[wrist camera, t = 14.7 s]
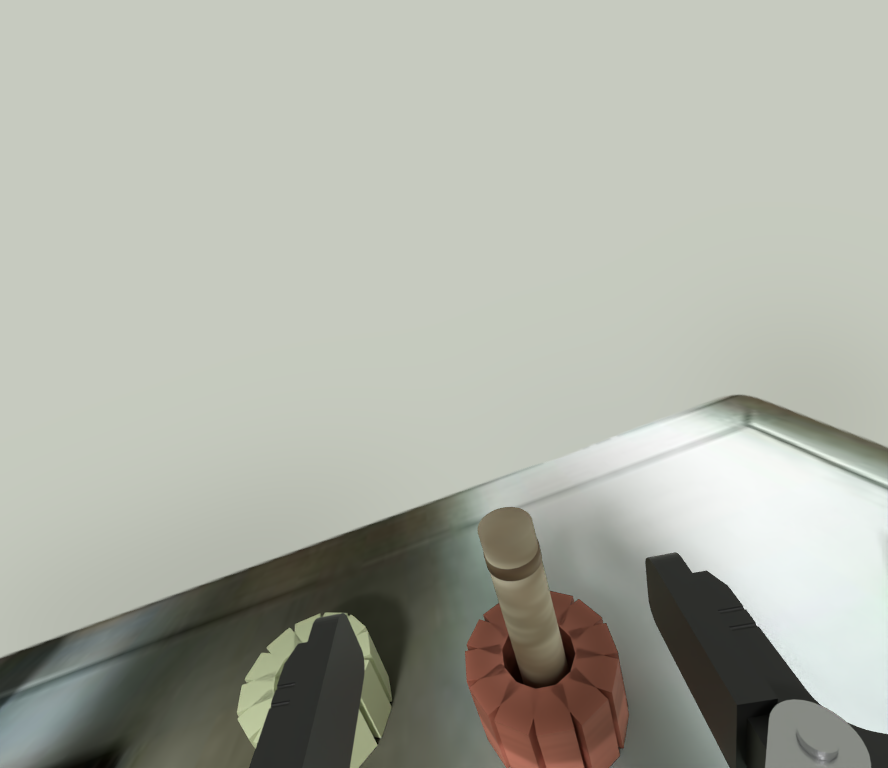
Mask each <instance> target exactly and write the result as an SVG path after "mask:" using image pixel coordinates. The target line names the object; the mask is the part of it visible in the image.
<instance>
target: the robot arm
mask: <svg viewBox="0 0 888 768" xmlns="http://www.w3.org/2000/svg"><path fill="white" fill-rule="evenodd" d="M646 574H647V586H648V597H649V604H650V608H651V612H652V615H653V618H654V620H655V623H656V625H657V627H658V629H659V631H660V633H661V635H662V637H663V639H664V641H665V643H666V645H667V647H668V649H669V650H670V652H671V654H672V656H673V658H674V660H675V662H676V664H677V666H678V668H679V670H680V672H681V674H682V676H683V678H684V680H685V682H686V683H687V685H688V687H689V689H690V691H691V693H692V695H693V697H694V699H695V701H696V703H697V705H698V707H699V709H700V711H701V713H702V715H703V717H704V718H705V720H706V722H707V724H708V726H709V728H710V730H711V732H712V734H713V736H714V738H715V740H716V742H717V744H718V746H719V748H720V750H721V751H722V753H723V755H724V757H725V759H726V761H727V763H728V765H729V767H730V768H888V734H883V733H878V732H873V731H869V730H865V729H862V728H859V727H856V726H854V725H852V724H850V723H847V722H846V721H845V720H843V719H842V718H841V717H839V716H838V715H837V714H835V713H834V712H832V711H830V710H829V709H827V708H825V707H823V706H821V705H820V704H819V703H818V702H817V701H816V700H815V699H814V698H813V697H812V696H811V695H810V694H809V692H808V691H807V690H806V689H805V687H804V686H803V685H802V683H801V682H800V681H799V679H798V678H797V677H796V675H795V674H794V673H793V672H792V670H791V669H790V668H789V666H788V665H787V664H786V662H785V661H784V660H783V658H782V657H781V656H780V654H779V653H778V652H777V650H776V649H775V648H774V646H773V645H772V644H771V642H770V641H769V640H768V638H767V637H766V636H765V634H764V633H763V632H762V630H761V629H760V628H759V627H757V626H756V623H755V621H754V620H753V618H752V617H751V616H750V614H749V613H748V612H747V611H746V610H744V608H743V605H742V604H741V603H740V601H739V600H738V599H737V597H736V596H735V595H734V593H733V592H732V591H731V589H730V588H729V587H728V586H727V585H726V584H725V583H723V582H722V581H720V580H719V579H718V578H716V577H715V576H713V575H712V574H711V573H709V572H708V571H702V572H696V573H692V572H691V571H690V569H689V568H688V566H687V565H686V563H685V562H684V560H683V559H682V557H681V556H680V555H679V554H678V553H670V554H665V555H659V556H654V557H648V558H646ZM364 673H365V664H364V656H363V652H362V649H361V647H360V644H359V642H358V640H357V637H356V635H355V633H354V631H353V628H352V626H351V624H350V622H349V619H348V617H347V615H346V614H345V613H341V614H336V615H330V616H325V617H320V618H317V619H315V621H314V623H313V625H312V628H311V632H310V635H309V638H308V642H304V643H299V644H297V646H296V647H295V649H294V650H293V652H292V653H291V655H290V656H289V658H288V659H287V660H286V662H285V663H284V666H283V669H282V672H281V675H280V678H279V681H278V684H277V690H275V693H274V696H273V699H272V702H271V708H269V711H268V713H267V716H266V719H265V722H264V725H263V728H262V731H261V734H260V737H259V740H258V743H257V746H256V749H255V752H254V755H253V758H252V761H251V764H250V767H249V768H350V763H351V757H352V751H353V744H354V738H355V732H356V725H357V719H358V713H359V707H360V700H361V694H362V688H363V681H364Z"/></svg>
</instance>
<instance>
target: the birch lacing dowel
mask: <svg viewBox="0 0 888 768" xmlns="http://www.w3.org/2000/svg"><path fill="white" fill-rule="evenodd" d="M478 535H479V538H480V541H481V545H482V548H483V551H484V558H485V561H486V564H487V568H488V570H489V572H490V574H491V578H492V581H493V584H494V588H495V591H496V594H497V597H498V601H499V604H500V607H501V611H502V614H503V617H504V620H505V624H506V627H507V630H508V634H509V637H510V640H511V644H512V647H513V650H514V653H515V657H516V660H517V663H518V667H519V670H520V673H521V677H522V680H523V683H524V685H526V686H529V687H532V688H535V689H537V688H542V687H548V686H553V685H556V684H557V683H558V682H560V681H561V680H562V679H563V678H564V677H565V676H566V675H567V674H568V673H570V672H569V668H568V664H567V660H566V656H565V652H564V648H563V643H562V639H561V635H560V631H559V627H558V623H557V619H556V615H555V611H554V607H553V603H552V599H551V595H550V591H549V587H548V583H547V578H546V574H545V570H544V566H543V562H542V555H541V550H540V546H539V542H538V540H537V538H536V534H535V530H534V526H533V522H532V518H531V516H530V515H529V514H528V513H527V512H526V511H524V510H522V509H520V508H515V507H505V508H500V509H497V510H494V511H492V512H490V513H488V514H487V515H486V516H485V517H483V519H482V520H481V521H480V523H479V525H478Z"/></svg>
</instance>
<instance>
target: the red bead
mask: <svg viewBox="0 0 888 768" xmlns="http://www.w3.org/2000/svg"><path fill="white" fill-rule="evenodd" d="M550 595H551V599H552V603H553V607H554V611H555V615H556V619H557V623H558V627H559V631H560V635H561V639H562V643H563V648H564V652H565V656H566V660H567V664H568V668H569V672H570V673H568V674H567V675H566V676H565V677H564V678H563V679H562V680H561V681H560V682H558V683H557V684H556V685H553V686H548V687H542V688H537V689H535V688H532V687H529V686H526V685H524V683H523V680H522V677H521V673H520V670H519V667H518V663H517V660H516V657H515V653H514V650H513V647H512V644H511V640H510V637H509V634H508V630H507V627H506V624H505V620H504V617H503V614H502V611H501V607H500V604H499V603H498V604H497V605H496V606H494V607H493V608H492V609H490V610H489V611H488V612H486V613H485V614H483V615H484V618H485V621H483V620H480V619H479V621H478V623H477V625H476V627H475V629H474V631H473V633H472V635H471V637H470V639H469V641H468V643H467V647H468V650H469V651H465V657H466V676H467V683H468V686H469V689H470V692H471V695H472V697H473V700H474V703H475V706H476V708H477V711H478V714H479V716H480V719H481V722H482V725H483V727H484V730H485V733H486V735H487V738H488V740H489V742H490V743H491V745H492V747H493V748H494V750H495V751H496V753H497V754H498V756H499V757H500V759H501V760H502V762H503V763H504V765H505V766H506V768H509V767H511V768H609V767H610V766H611V765H612V764H613V763H614V762H615V761H616V760H617V759H618V757H619V756H620V754H619V749H618V747H620V748H624V742H625V736H626V729H627V723H628V717H629V713H628V704H627V699H626V693H625V688H624V683H623V677H622V672H621V667H620V661H619V656H618V651H617V649H616V646H615V644H614V641H613V639H612V636H611V634H610V631H609V629H608V626H607V624H606V623H604V624H603V620H602V617H601V616H599V615H598V614H597V613H596V612H594V611H593V610H592V609H591V608H589V607H588V606H587V605H586V604H584V603H583V602H582V601H581V600H580V599H578V600H577V601H576V602H574V599H573V596H570V595H566V594H561V593H557V592H552V591H550Z"/></svg>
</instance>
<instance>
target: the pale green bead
mask: <svg viewBox="0 0 888 768" xmlns="http://www.w3.org/2000/svg"><path fill="white" fill-rule="evenodd" d="M336 614H341V613H328V612H325V614H324V616H323V617H325V616H330V615H336ZM345 614H346V615H347V617H348V619H349V622H350V624H351V626H352V628H353V631H354V633H355V635H356V637H357V640H358V642H359V644H360V647H361V649H362V652H363V656H364V664H365V673H364V681H363V688H362V694H361V700H360V707H359V713H358V719H357V725H356V732H355V738H354V744H353V751H352V757H351V763H350V768H359V767H360V765H361V764H362V763H363V762H364V761H365V759H366V758H367V757H368V756H369V755H370V754H371V752H372V751H373V750H374V749H375V748H376V746H377V743H376V741H375V739H374V737H376V738H382V735H383V732H384V729H385V726H386V723H387V720H388V717H389V714H390V711H391V708H392V707H391V705H390V703H389V702H391V701H392V695H391V689H390V682H389V676H388V674H387V672H386V670H385V668H384V665H383V663H382V661H381V659H380V657H379V654H378V652H377V650H376V648H375V646H374V644H373V641H372V639H371V637H370V635H369V633H368V631H367V629H366V627H365V626H364V625H363V624H362V623H361V622H359V621H358V620H357V619H356V618H355V617H354V616H352V615H350V616H348V614H347V613H345ZM320 617H321V615H320V614H318V615H315V616H313V617H311V618H308V619H306V620H304V621H301V622H299V623H296V624H295V633H294V632H293V631H292V629H291V628H288V629H287V630H286V631H285V632H284V633H283V634H281V635H280V636H279V637H278V638H277V639H276V640H274V641H273V642H272V643H271V644H270V645H269V646H267V647H266V648H267V650H268V651H269V653H261V654H260V656H259V658H258V659H257V661H256V662H255V664H254V665H253V667H252V668H251V670H250V672H249V673H248V675H247V676H246V678H245V681H246V682H247V684H244V685H242V688H241V693H240V698H239V704H238V709H237V714H238V716H239V718H238V721H239V723H240V724H241V726H242V728H243V730H244V731H245V733H246V735H247V737H248V739H249V740H250V742H251V743H252V745H253V746H254V748H255V749H256V746H257V743H258V740H259V737H260V734H261V731H262V728H263V725H264V722H265V719H266V716H267V713H268V711H269V708H271V702H272V699H273V696H274V693H275V690H277V684H278V681H279V678H280V675H281V672H282V669H283V666H284V663H285V662H286V660H287V659H288V658H289V656H290V655H291V653H292V652H293V650H294V649H295V647H296V646H297V644H299V643H304V642H308V638H309V635H310V632H311V628H312V625H313V623H314V621H315V619H317V618H320Z"/></svg>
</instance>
